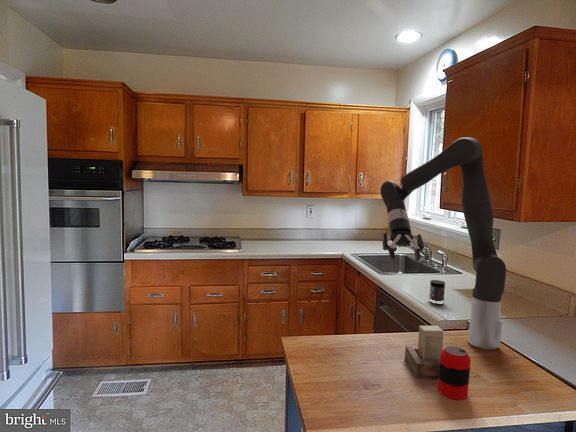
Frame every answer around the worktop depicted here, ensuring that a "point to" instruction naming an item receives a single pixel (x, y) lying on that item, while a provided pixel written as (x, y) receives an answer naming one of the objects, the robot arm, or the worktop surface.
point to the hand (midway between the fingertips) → (405, 259)
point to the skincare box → (430, 343)
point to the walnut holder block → (421, 364)
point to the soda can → (454, 373)
